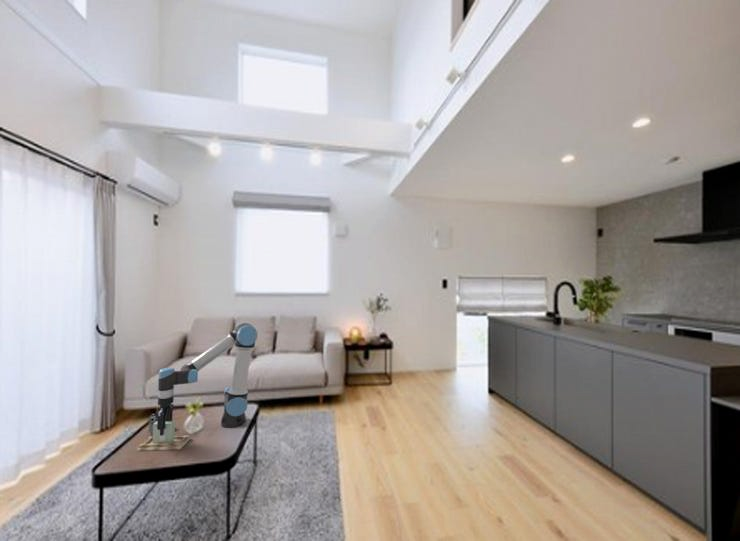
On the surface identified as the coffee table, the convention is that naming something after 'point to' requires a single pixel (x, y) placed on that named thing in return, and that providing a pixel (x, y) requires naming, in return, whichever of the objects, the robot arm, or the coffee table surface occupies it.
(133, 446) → the coffee table surface
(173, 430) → the pale green block
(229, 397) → the robot arm
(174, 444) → the track board
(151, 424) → the camera
